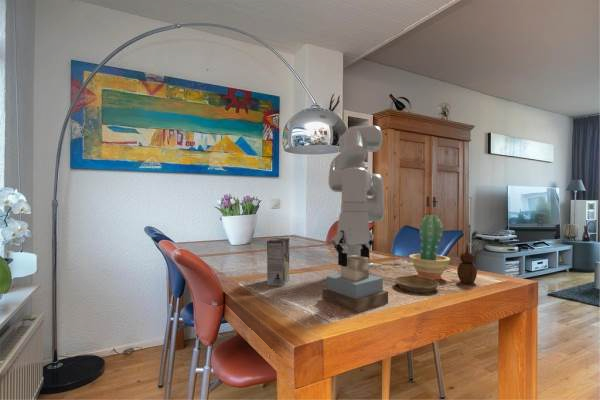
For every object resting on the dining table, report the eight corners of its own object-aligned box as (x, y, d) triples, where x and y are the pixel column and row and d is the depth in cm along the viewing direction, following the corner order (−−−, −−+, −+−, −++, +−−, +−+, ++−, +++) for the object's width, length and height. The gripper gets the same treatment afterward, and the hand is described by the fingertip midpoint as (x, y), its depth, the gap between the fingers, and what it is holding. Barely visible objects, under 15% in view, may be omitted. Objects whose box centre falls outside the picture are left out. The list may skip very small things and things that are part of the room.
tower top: (353, 282, 103) (353, 270, 103) (382, 291, 93) (382, 278, 93) (326, 288, 96) (326, 276, 96) (355, 299, 86) (356, 284, 86)
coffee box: (273, 278, 120) (273, 237, 120) (289, 279, 119) (289, 238, 119) (266, 285, 111) (266, 240, 111) (283, 286, 110) (283, 241, 110)
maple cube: (354, 273, 99) (354, 255, 99) (368, 277, 94) (368, 257, 94) (340, 276, 95) (340, 257, 95) (355, 280, 90) (355, 260, 90)
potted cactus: (458, 278, 121) (459, 215, 121) (433, 284, 114) (433, 216, 113) (425, 270, 135) (426, 213, 134) (400, 274, 127) (401, 214, 127)
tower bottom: (354, 293, 104) (354, 281, 104) (388, 305, 93) (388, 291, 93) (322, 301, 96) (322, 288, 96) (355, 315, 85) (355, 300, 85)
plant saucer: (399, 280, 119) (399, 274, 119) (441, 286, 111) (441, 279, 111) (389, 290, 106) (389, 283, 106) (435, 297, 99) (435, 289, 98)
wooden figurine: (470, 285, 112) (471, 244, 111) (454, 282, 116) (455, 242, 116) (479, 282, 116) (479, 242, 115) (463, 279, 120) (464, 241, 120)
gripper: (364, 207, 103) (364, 258, 103) (324, 208, 93) (324, 265, 93) (382, 208, 97) (382, 262, 97) (342, 209, 86) (342, 269, 87)
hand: (354, 263), depth 95 cm, fingers open, 9 cm apart
